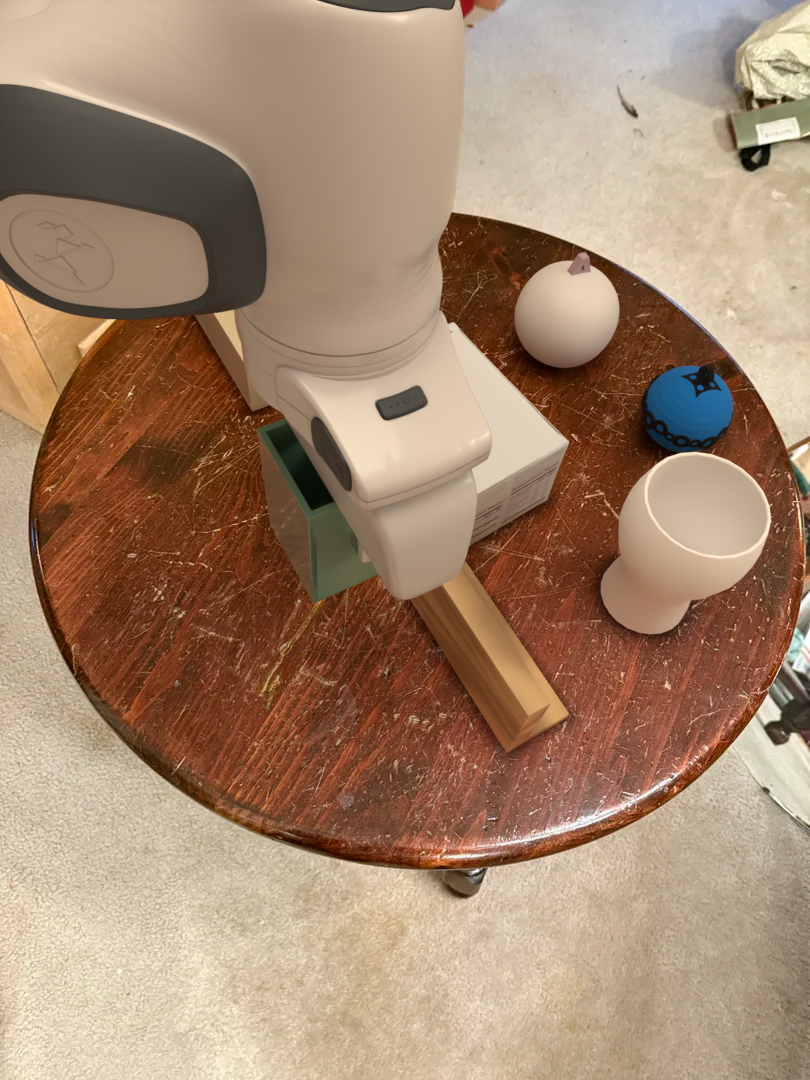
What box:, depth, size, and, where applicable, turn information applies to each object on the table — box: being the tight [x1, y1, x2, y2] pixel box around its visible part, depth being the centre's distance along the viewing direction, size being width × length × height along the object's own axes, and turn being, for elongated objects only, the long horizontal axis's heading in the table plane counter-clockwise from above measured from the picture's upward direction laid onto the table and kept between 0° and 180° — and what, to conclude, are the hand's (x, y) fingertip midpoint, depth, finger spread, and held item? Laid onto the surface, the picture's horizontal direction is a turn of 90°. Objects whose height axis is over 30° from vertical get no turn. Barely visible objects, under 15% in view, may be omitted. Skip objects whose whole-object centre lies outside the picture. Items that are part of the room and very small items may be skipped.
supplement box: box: [448, 321, 570, 547], centre depth 75 cm, size 17×13×9 cm
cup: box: [600, 451, 772, 635], centre depth 67 cm, size 11×11×15 cm
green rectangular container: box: [256, 417, 379, 605], centre depth 49 cm, size 12×7×12 cm
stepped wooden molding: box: [409, 561, 570, 753], centre depth 65 cm, size 6×16×9 cm, turn 30°
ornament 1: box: [513, 251, 620, 369], centre depth 83 cm, size 10×10×12 cm
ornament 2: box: [640, 364, 734, 453], centre depth 78 cm, size 9×9×10 cm
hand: (338, 498), depth 49 cm, fingers closed on green rectangular container, 6 cm apart
